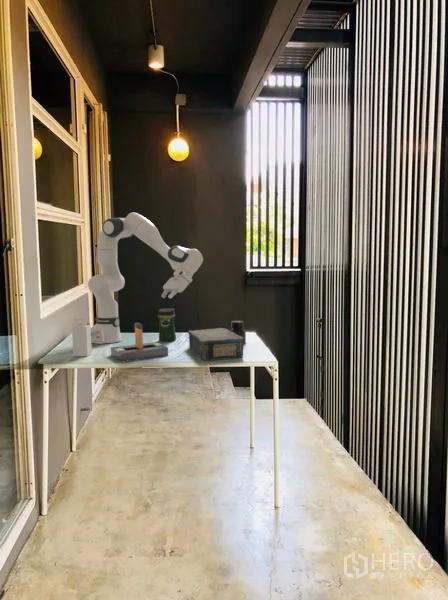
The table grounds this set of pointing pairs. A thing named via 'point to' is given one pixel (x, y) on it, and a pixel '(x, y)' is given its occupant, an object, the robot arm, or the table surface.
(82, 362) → the table surface
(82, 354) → the milk carton
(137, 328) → the lever
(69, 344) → the table surface
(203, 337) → the metal box
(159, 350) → the breaker box
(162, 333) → the coffee jar
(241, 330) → the ink bottle
